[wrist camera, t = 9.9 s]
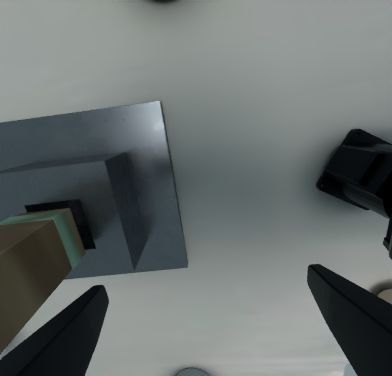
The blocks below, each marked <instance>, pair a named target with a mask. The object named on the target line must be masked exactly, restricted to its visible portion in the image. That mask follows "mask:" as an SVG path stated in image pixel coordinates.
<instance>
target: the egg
mask: <svg viewBox="0 0 392 376" xmlns="http://www.w3.org/2000/svg"><path fill="white" fill-rule="evenodd" d="M377 296H378V297H380V298H382V299H383V300H385V301H387V302H389V303H391V304H392V289H387V290H384V291H382V292H380V293H379V294H378V295H377Z"/></svg>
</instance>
